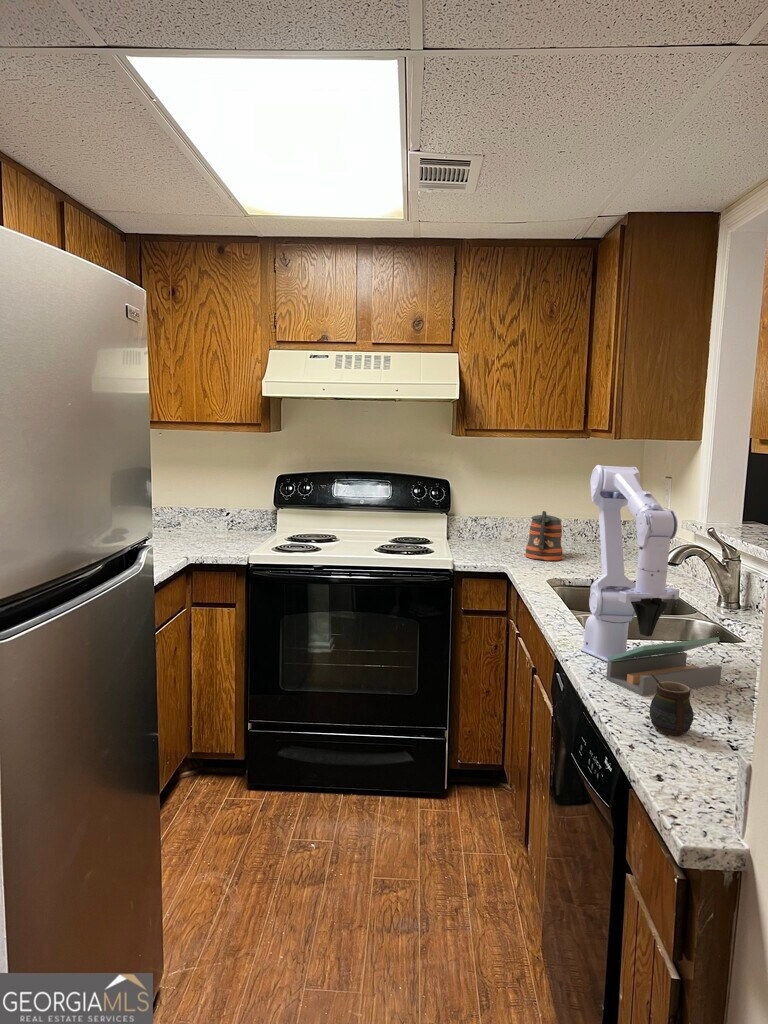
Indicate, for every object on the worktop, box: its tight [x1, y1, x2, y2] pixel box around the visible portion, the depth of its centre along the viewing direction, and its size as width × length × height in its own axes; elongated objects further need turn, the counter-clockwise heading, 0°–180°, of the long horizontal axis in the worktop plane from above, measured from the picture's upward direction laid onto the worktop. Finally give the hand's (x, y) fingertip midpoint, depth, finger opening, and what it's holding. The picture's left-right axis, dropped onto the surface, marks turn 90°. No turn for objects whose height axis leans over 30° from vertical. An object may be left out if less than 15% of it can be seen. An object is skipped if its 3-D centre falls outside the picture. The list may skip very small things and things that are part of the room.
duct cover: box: [607, 636, 720, 661], centre depth 153 cm, size 10×22×1 cm, turn 117°
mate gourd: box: [649, 674, 695, 737], centre depth 128 cm, size 7×8×10 cm
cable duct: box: [605, 651, 723, 697], centre depth 154 cm, size 11×22×4 cm, turn 116°
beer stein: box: [525, 510, 563, 562], centre depth 291 cm, size 19×15×20 cm
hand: (645, 634), depth 150 cm, fingers closed
